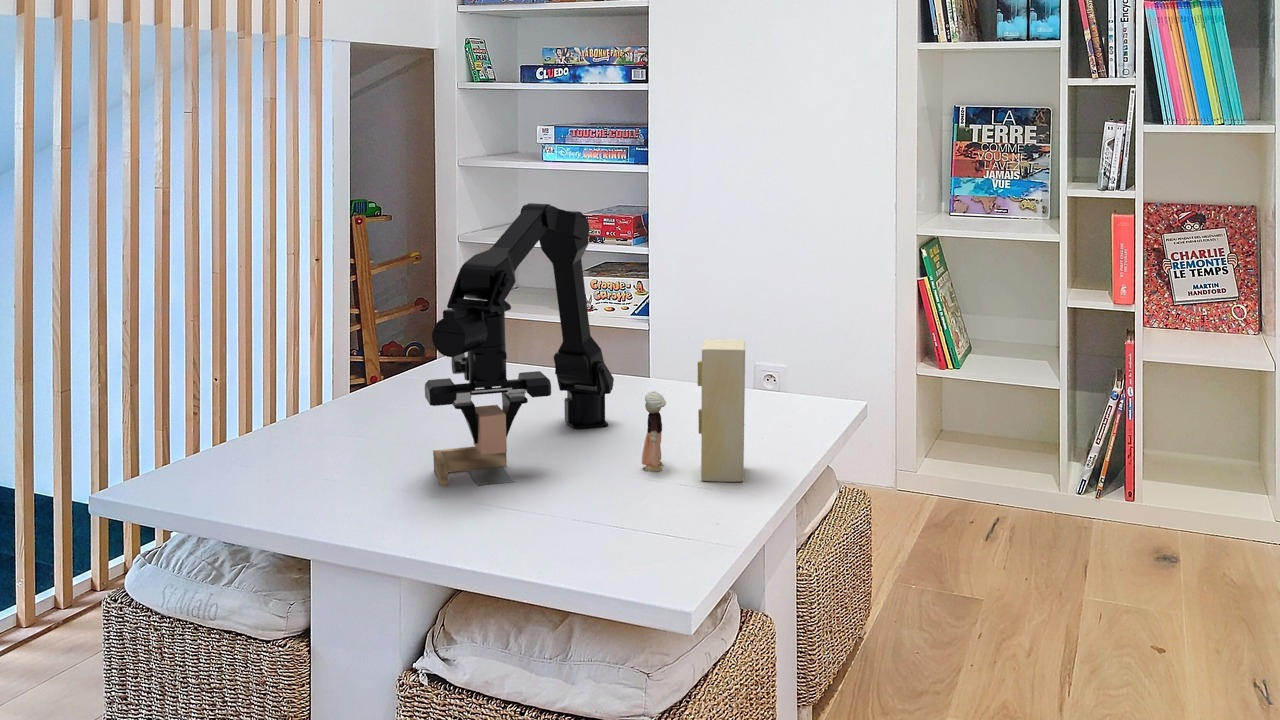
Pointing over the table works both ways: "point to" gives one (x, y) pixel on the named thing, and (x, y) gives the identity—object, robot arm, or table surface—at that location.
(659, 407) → the grandmother figurine
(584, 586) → the table surface
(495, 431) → the terracotta block
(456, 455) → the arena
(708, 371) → the toy refrigerator
